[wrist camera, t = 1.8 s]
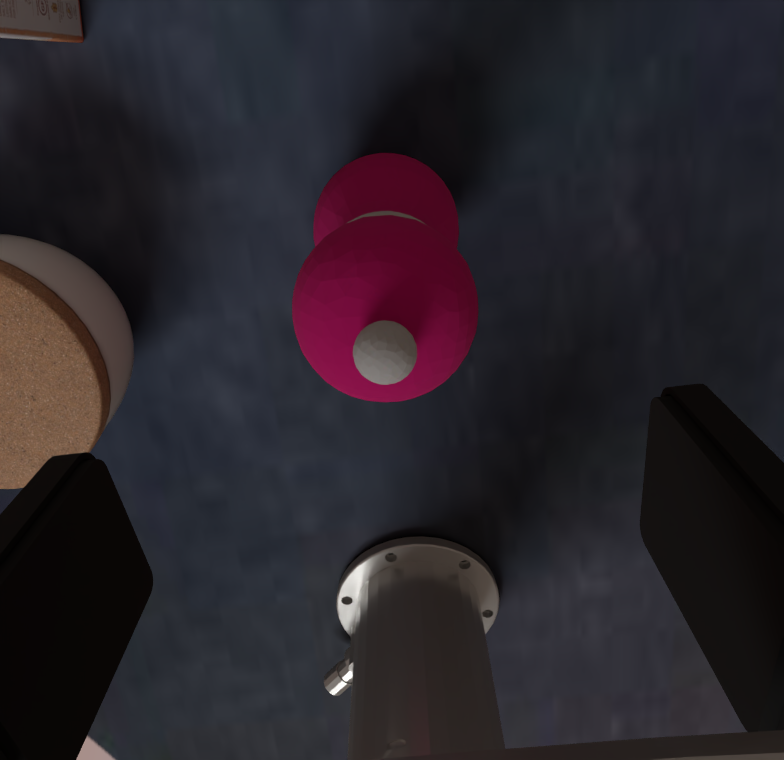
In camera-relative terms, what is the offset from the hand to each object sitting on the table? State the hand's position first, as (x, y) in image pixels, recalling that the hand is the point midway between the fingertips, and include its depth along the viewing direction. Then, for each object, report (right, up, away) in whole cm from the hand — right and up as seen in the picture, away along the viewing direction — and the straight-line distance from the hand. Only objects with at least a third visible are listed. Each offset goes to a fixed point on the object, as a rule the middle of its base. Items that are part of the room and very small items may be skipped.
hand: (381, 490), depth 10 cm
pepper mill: (0, +11, +23) cm, 26 cm away
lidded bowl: (-20, +6, +26) cm, 33 cm away
